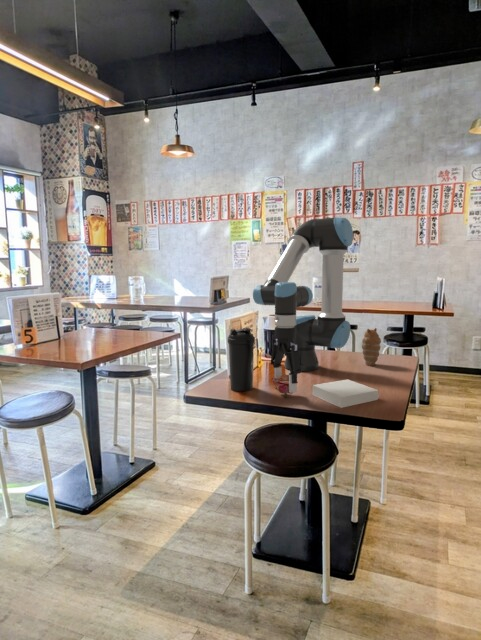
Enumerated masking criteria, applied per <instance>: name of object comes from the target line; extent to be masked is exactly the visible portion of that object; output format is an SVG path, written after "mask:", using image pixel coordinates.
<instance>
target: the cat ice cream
mask: <svg viewBox="0 0 481 640" xmlns="http://www.w3.org/2000/svg"><path fill="white" fill-rule="evenodd" d="M366 329H367V330H366V331H365V332H364V337H363V338H362V345H361V348H362V354H363V359H364V361H365V365H366V366H367V367H374V366H376V363H377V362H378V359H379V357H380V350H381V342H382V340H381V338H380V335H379V333H378V332H377V329H378V328H376V327H375V328H373V329H369V328H366Z"/></svg>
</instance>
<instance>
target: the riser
mask: <svg viewBox="0 0 481 640" xmlns="http://www.w3.org/2000/svg"><path fill="white" fill-rule="evenodd" d="M312 396H314V397H315V398H319V399H321V400H323V401H324V402H327V403H329V404H332V405H333V406H336V407H338V408H341V409H342V408H347V407H350V406H356V405H359V404H364V403H369V402H374V401H377V400H379V390H378V389H375V388H373V387H370V386H367V385H365V384H362V383H359V382H357V381H353V380H350V379H348V378H347V379H342V380H336V381H329V382H323V383H317V384H312Z"/></svg>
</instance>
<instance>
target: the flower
mask: <svg viewBox="0 0 481 640" xmlns="http://www.w3.org/2000/svg"><path fill="white" fill-rule="evenodd" d="M271 380H272V384H273V385H274V386H275V387H274V388H275V390H276V391H278V393H281V394H284V398H287V397H288V396H287V394H290V395H291V394H294V393H295V392H291V393H290V392H289V374H282V375H281V376H280V378H278V377H277V378H274V377H272V378H271ZM297 384H298V381H297Z"/></svg>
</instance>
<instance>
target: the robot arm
mask: <svg viewBox="0 0 481 640" xmlns="http://www.w3.org/2000/svg"><path fill="white" fill-rule="evenodd" d="M349 220H350V219H348V218H346V217H337V216H336V217H328V218H326V217H324V218H313V219H308V220H307V221H305V222H304V223H301V225H299V226H298V227H297V228H296V229H294V231H293V232H292V233H291V234H290V236H289V237H288V239H287V246H286V247H285V249H284V251H283V252H282V254H281V256H280V257H279V259H278V261H277V263H276V264H275V265H274V267H273V269H272V271H271V272H270V274H269V275H268V277H267V279H266V281H265V282H264V284H259V285H258V284H257V285H256V286H254V288H253V290H252V299H253V302H254V303H255V304H256V305H257V304H258V305H262V306H274V325H275V327H274V337H275V338H273V339H272V349H271V357H270V365H271V366H272V368H273V369H274V371H273V375H274V377H273V378H277V377H278V378H280V376H281V375H283V371H282V370H283V367H282V366H283V365H282V362H283V358H284V356H285V361H284V368H285V369H286V370H289V373H288V375H289V392H290V393H293V392H294V393H295V392H298V391H297V388H298V387H297V386H298V385H297V384H298V383H297V382H298V375H299V374H302V372H312V371H315V370H318V369H320V368H319V367H320V366H319V359H318V357H317V354H316V347H325V348H331V349H341V348H344V347H345V346H346V345H347V343H348V340H349V338H350V333H351V323H350V322H349V320H346V318H347V317H346V315H345V314H344V312H343V293H344V292H343V291H344V290H343V289H344V287H343V286H344V255H345V254H346V253H347V252H348V247H350V246H352V244H353V241H354V231H353V226H352V224H351V222H350V221H349ZM317 247H318V251H319V252H320V254H321V255H322V269H321V271H322V272H321V273H322V274H321V277H322V278H321V311H320V313H319V314H318V315H317V317H316V315H314V314H307V315H306V314H305V315H299V316H297V308H300V307H302V308H303V307H306V306H308V305H310V303H311V302H312V301H313V297H314V296H313V295H314V293H313V291H312V289H311V288H310V287H308V286H305V285H297V283H295V282H291V281H290V279H291V277H292V275H293V273H294V271H295V270H296V268H297V266H298V265H299V263H300V260H301V259H302V257H303V255H304V254H306V253H308V251H309V250H310V249H312V248H317Z"/></svg>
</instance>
